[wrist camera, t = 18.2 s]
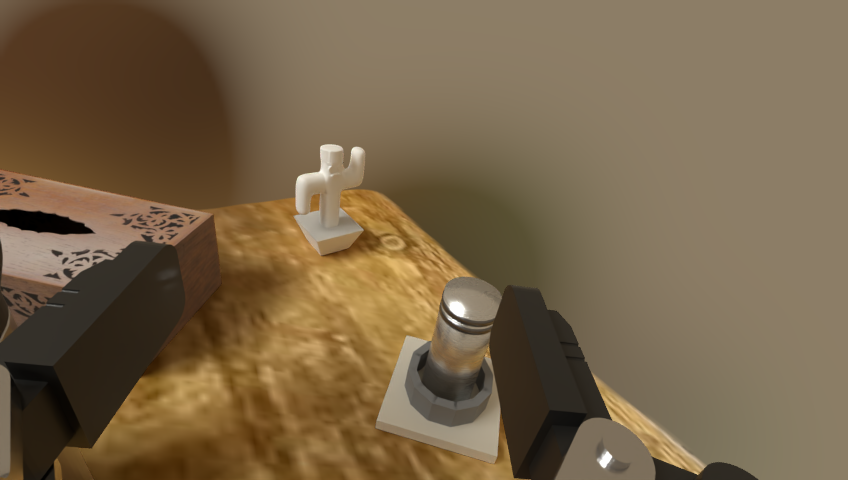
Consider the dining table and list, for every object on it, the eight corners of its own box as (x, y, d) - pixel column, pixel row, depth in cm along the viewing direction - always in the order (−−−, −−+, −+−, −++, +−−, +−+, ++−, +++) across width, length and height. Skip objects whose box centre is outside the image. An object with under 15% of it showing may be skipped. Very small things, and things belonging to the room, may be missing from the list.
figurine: (286, 239, 60) (284, 139, 52) (344, 225, 66) (350, 133, 58) (308, 266, 56) (310, 162, 48) (368, 249, 61) (379, 153, 53)
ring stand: (375, 428, 38) (379, 402, 36) (405, 342, 47) (409, 318, 45) (493, 464, 37) (505, 439, 35) (500, 369, 46) (509, 346, 44)
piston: (415, 402, 39) (439, 306, 33) (425, 362, 43) (448, 270, 37) (468, 417, 39) (502, 322, 32) (473, 375, 43) (504, 285, 37)
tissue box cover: (-129, 321, 39) (-197, 231, 33) (19, 241, 51) (-14, 166, 46) (137, 380, 38) (111, 297, 33) (222, 285, 50) (213, 213, 45)
